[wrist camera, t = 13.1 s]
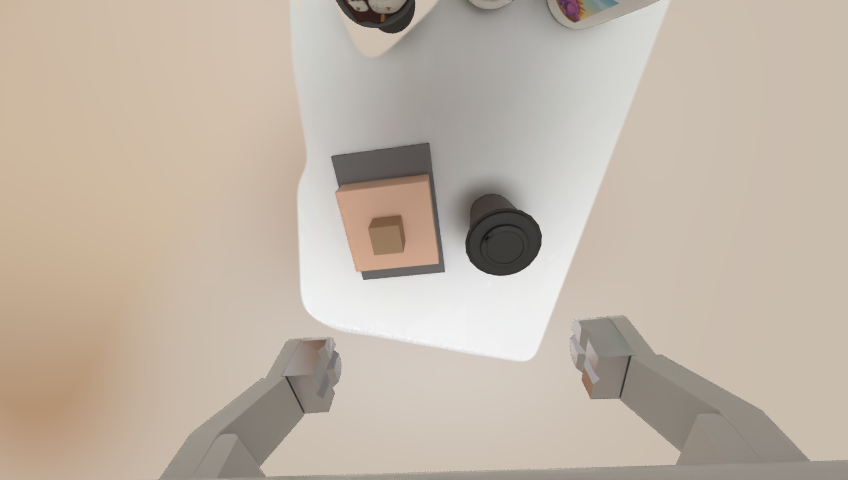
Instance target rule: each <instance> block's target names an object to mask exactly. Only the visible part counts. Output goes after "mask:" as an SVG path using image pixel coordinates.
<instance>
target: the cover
mask: <svg viewBox="0 0 848 480" xmlns="http://www.w3.org/2000/svg"><path fill="white" fill-rule="evenodd" d="M335 194H336V198H337V202H338V205H339V209H340V213H341V216H342V220H343V224H344V228H345V231H346V235H347V239H348V242H349V246H350V250H351V253H352V257H353V261H354V265H355V268H356V272H359V271H369V270H379V269H389V268H399V267H410V266H420V265H430V264H439V251H438V243H437V235H436V228H435V220H434V212H433V205H432V197H431V189H430V181H429V174H424V175H416V176H407V177H399V178H391V179H383V180H375V181H367V182H359V183H351V184H343V185H342V186H341V187H340V188H339V189H338V190H337V191H336V192H335Z"/></svg>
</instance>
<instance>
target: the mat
mask: <svg viewBox="0 0 848 480" xmlns="http://www.w3.org/2000/svg"><path fill="white" fill-rule="evenodd" d="M331 158H332V162H333V166H334V170H335V174H336V177H337V181H338V185H339V188H340V187H341V186H342V185H343V184H351V183H359V182H367V181H375V180H383V179H391V178H399V177H407V176H416V175H424V174H429V181H430V189H431V197H432V205H433V212H434V220H435V228H436V235H437V243H438V251H439V264H430V265H420V266H410V267H399V268H389V269H379V270H369V271H361V272H362V276H363V280H367V279H378V278H388V277H399V276H409V275H419V274H430V273H440V272H445V270H444V262H443V254H442V246H441V238H440V230H439V222H438V214H437V206H436V198H435V190H434V182H433V174H432V166H431V158H430V150H429V143H426V144H418V145H411V146H404V147H396V148H389V149H381V150H374V151H366V152H359V153H352V154H344V155H337V156H332V157H331Z"/></svg>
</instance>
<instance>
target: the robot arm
mask: <svg viewBox="0 0 848 480" xmlns="http://www.w3.org/2000/svg"><path fill="white" fill-rule="evenodd" d="M572 330H573V332H574V335H573V336H572V337H571V338H570V352H571V356H572V360H573V362H574V364H575V367H576V368H577V369H578V370H580V371H581V372H582V373H583V375H582V381H583V384H584V386H585V388H586V390H587V392H588V394H589V396H590V398H591V399H620V400H621V401H622V402H623V403H625V404H626V405H627V406H628V407H629V408H630V409H631V410H633V411H634V412H635V413H636V414H637V415H638V416H640V417H641V418H642V419H643V420H644V421H645V422H647V423H648V424H649V425H650V426H651V427H652V428H654V429H655V430H656V431H657V432H658V433H659V434H661V435H662V436H663V437H664V438H665V439H666V440H668V441H669V442H670V443H671V444H672V445H673V446H675V447H676V448H677V449H678V450H679V451H680V452H681V454H680V456H679V459H678V461H677V463H676V465H664V466H663V465H661V466H629V467H628V466H626V467H592V468H556V469H524V470H486V471H453V472H418V473H383V474H347V475H312V476H278V477H266V476H265V474H264V473H263V471H262V470H261V469H260V466H261V465H262V464H263V462H264V461H265V460H266V459H267V458H268V457H269V455H270V454H271V453H272V452H273V451H274V450H275V448H276V447H277V446H278V445H279V444H280V443H281V442H282V440H283V439H284V438H285V437H286V436H287V435H288V433H289V432H290V431H291V430H292V429H293V428H294V427H295V425H296V424H297V423H298V422H299V421H300V419H301V418H302V417H303V416H304V414H305V413H319V412H329V410H330V407H331V404H332V400H333V397H334V394H335V393H334V390H333V386H335V385H336V384H337V383H338V382H339V378H340V375H341V359H340V356H339V353H337V352H336V351H334V348H335V342H334V340H333V338H331V337H317V338H303V339H289V340H288V341H287V342H286V343H285V345H284V346H283V348H282V350H281V352H280V354H279V355H278V357H277V359H276V361H275V362H274V364H273V366H272V368H271V369H270V371H269V373H268V375H267V377H266V378H261V379H260V380H259V381H257V382H256V383H255V384H254V385H252V386H251V387H250V388H248V389H247V390H246V391H245V392H243V393H242V394H241V395H240V396H238V397H237V398H236V399H234V400H233V401H232V402H231V403H230V404H228V405H227V406H225V407H224V408H223V409H222V410H220V411H219V412H218V413H216V414H215V415H214V416H213V417H211V418H210V419H209V420H207V421H206V422H205V423H204V424H202V425H201V426H200V427H198V428H197V429H196V430H195V431H193V432H192V433H191V434H190V435H189V436H188V438H187V439H186V441H185V442H184V444H183V445H182V446H181V448H180V450H179V451H178V452H177V454H176V455H175V457H174V458H173V460H172V461H171V463H170V464H169V465H168V467H167V468H166V470H165V471H164V473H163V474H162V476H161V477H160V479H159V480H848V460H841V461H839V460H838V461H810V460H809V459H808V458H807V457H806V456H805V455H804V454H803V453H802V452H801V451H800V450H799V448H798V447H797V446H796V445H795V444H794V443H793V442H792V441H791V440H790V439H789V438H788V437H787V436H786V435H785V434H784V433H783V432H782V431H781V430H780V429H779V428H778V427H777V426H776V424H775V423H774V422H773V421H772V420H771V419H770V418H769V417H768V416H767V415H766V414H765V413H764V412H763V411H762V410H761V409H759V408H757V407H755V406H753V405H752V404H750V403H748V402H746V401H744V400H742V399H741V398H739V397H737V396H735V395H733V394H732V393H730V392H728V391H726V390H724V389H723V388H720V387H719V386H717V385H715V384H714V383H712V382H710V381H708V380H706V379H705V378H703V377H701V376H699V375H697V374H696V373H694V372H692V371H690V370H688V369H686V368H685V367H683V366H681V365H679V364H677V363H675V362H674V361H672V360H670V359H668V358H667V357H665V356H663V355H656V354H655V353H654V352H653V351H652V349H651V348H650V347H649V346H648V344H647V343H646V342H645V340H644V339H643V338H642V336H641V335H640V334H639V333H638V331H637V330H636V329H635V328H634V326H633V325H632V324H631V322H630V321H629V320H628V318H627V317H625V316H623V315H619V316H607V317H597V318H583V319H574V320H573V322H572Z"/></svg>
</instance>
